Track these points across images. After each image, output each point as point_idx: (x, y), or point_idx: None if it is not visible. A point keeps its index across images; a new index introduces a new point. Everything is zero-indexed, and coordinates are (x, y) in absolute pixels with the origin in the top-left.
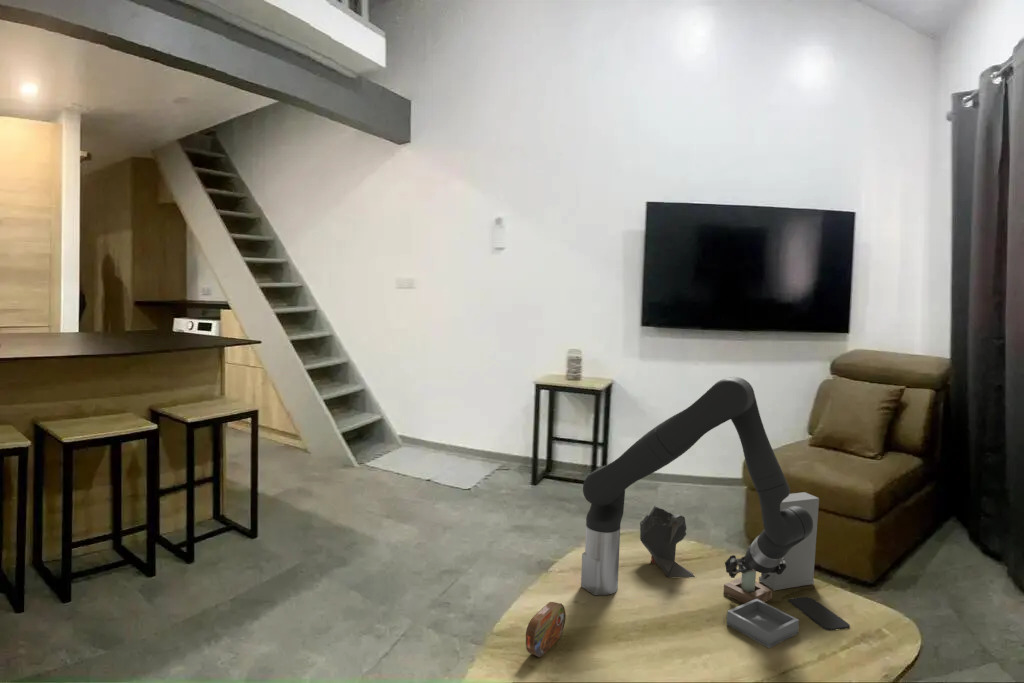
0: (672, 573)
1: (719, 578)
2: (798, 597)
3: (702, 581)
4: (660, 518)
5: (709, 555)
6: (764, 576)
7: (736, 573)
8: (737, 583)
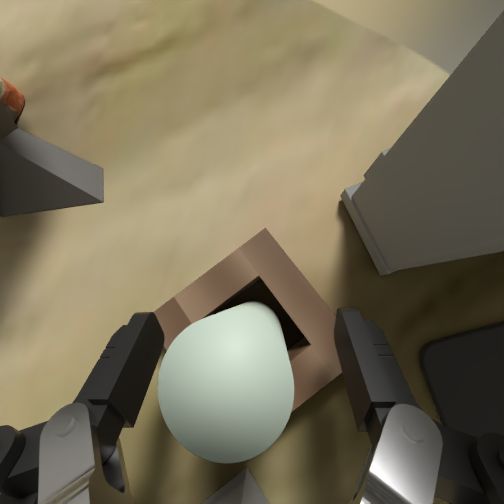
0: (9, 198)
1: (188, 194)
2: (477, 332)
3: (116, 227)
4: None
5: (208, 21)
6: (341, 363)
7: (128, 425)
8: (211, 304)
